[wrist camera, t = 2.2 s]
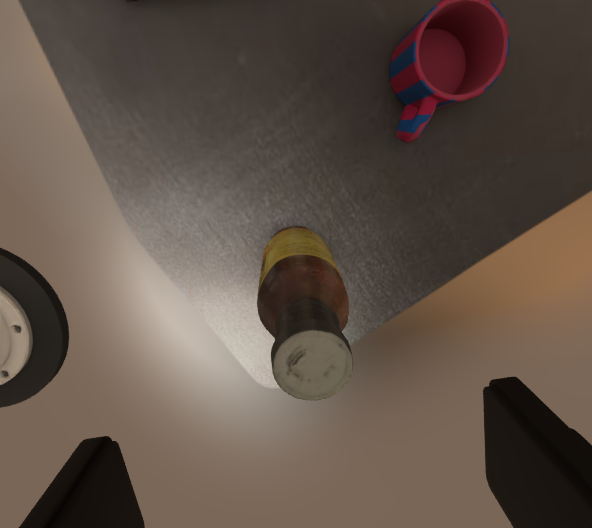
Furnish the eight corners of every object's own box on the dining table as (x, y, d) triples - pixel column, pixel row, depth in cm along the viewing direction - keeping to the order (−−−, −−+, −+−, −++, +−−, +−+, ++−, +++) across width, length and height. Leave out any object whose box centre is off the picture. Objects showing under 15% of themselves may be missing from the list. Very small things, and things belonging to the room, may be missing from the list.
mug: (482, 55, 34) (529, 31, 27) (413, 158, 36) (441, 159, 29) (419, 8, 33) (452, -29, 26) (352, 117, 35) (367, 108, 28)
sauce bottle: (253, 239, 38) (218, 327, 18) (313, 213, 37) (342, 275, 18) (281, 298, 39) (276, 435, 20) (339, 274, 39) (391, 390, 19)
